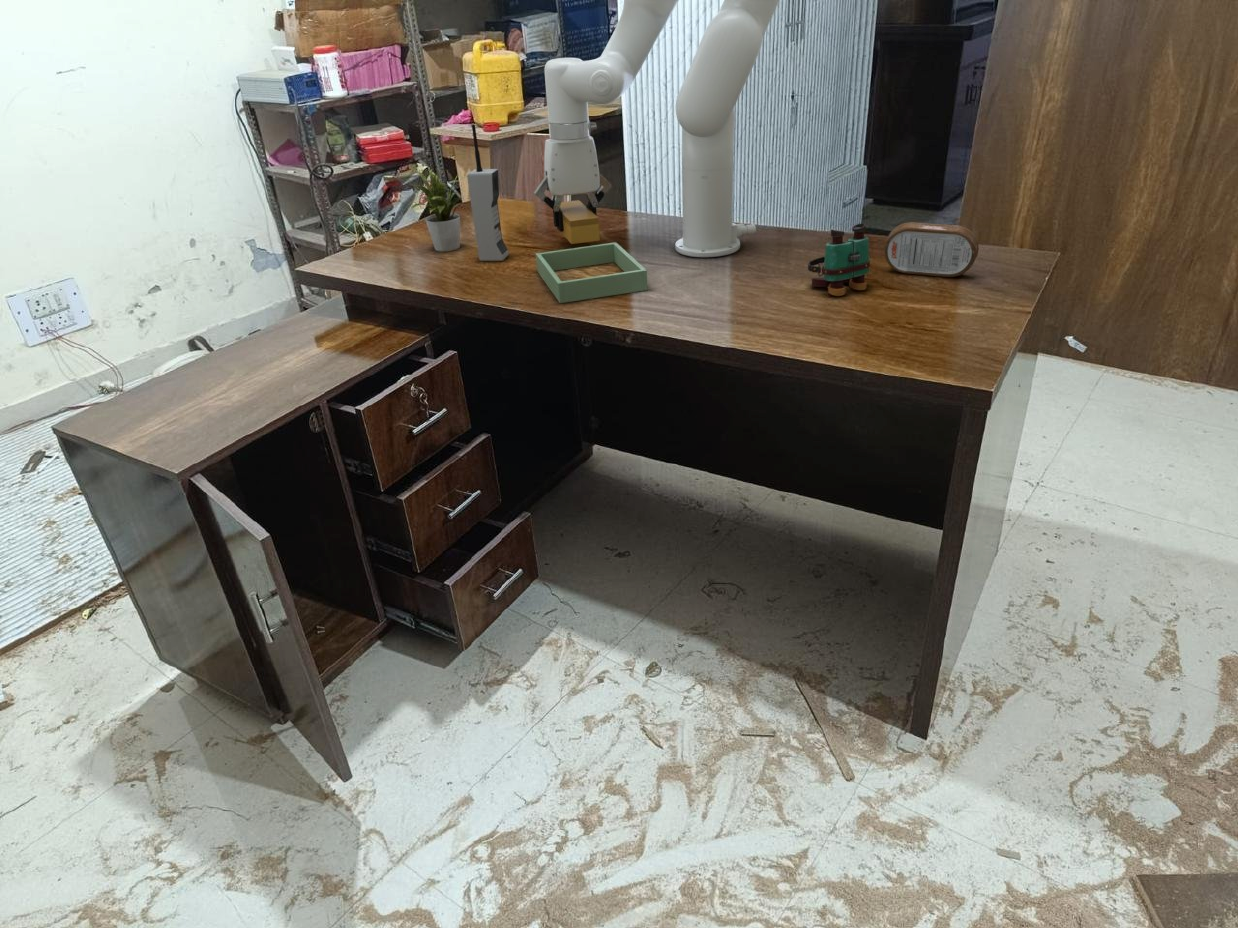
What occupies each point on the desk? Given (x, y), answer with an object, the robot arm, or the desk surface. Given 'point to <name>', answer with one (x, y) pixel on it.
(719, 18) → the robot arm
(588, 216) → the tan wooden plank
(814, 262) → the binoculars
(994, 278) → the desk surface
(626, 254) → the green rectangular open frame
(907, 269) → the tin
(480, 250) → the vintage mobile phone
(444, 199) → the house plant
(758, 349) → the desk surface
